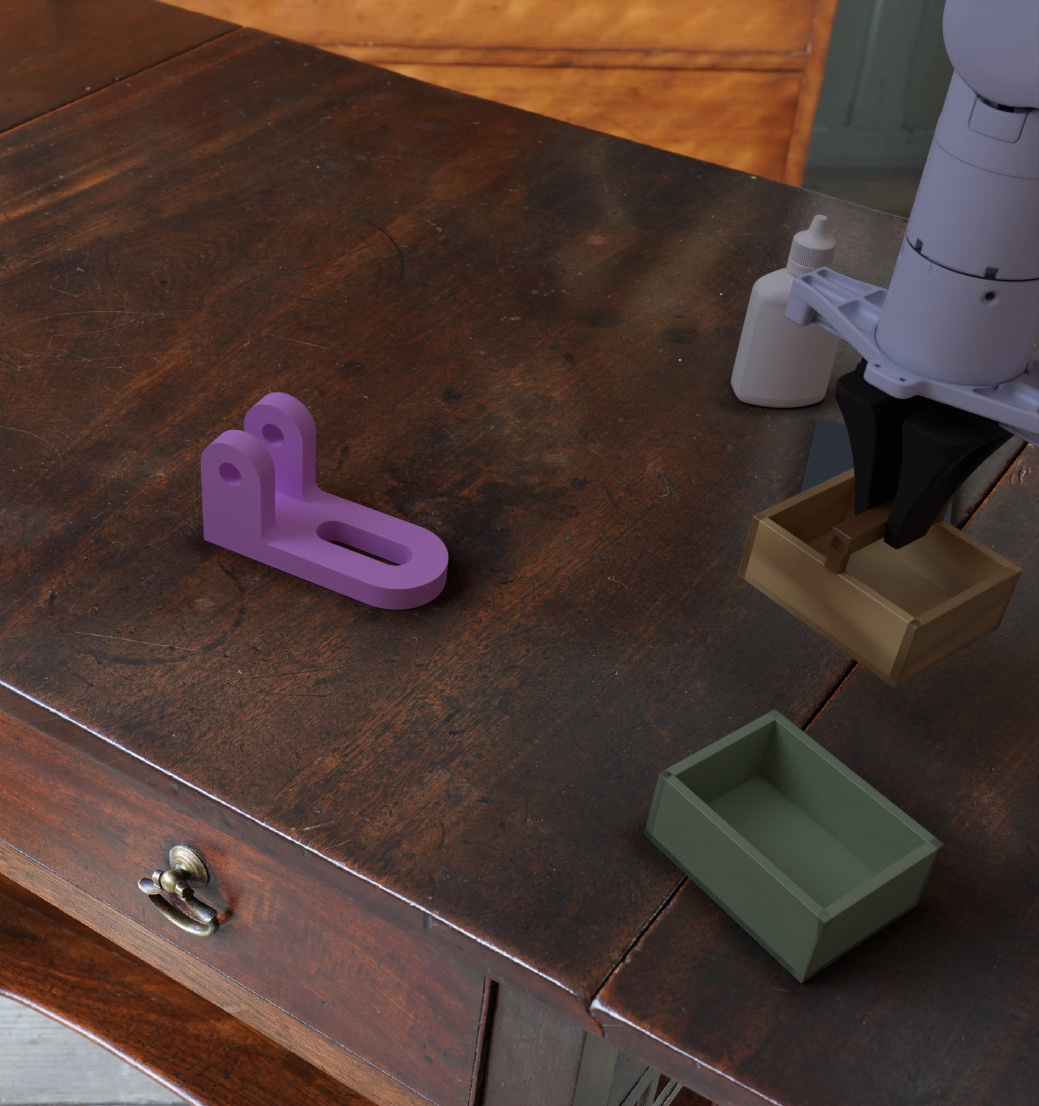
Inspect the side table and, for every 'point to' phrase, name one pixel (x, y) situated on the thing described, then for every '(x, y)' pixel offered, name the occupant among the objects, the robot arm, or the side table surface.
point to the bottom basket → (790, 843)
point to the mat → (832, 456)
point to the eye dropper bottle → (786, 333)
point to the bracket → (309, 514)
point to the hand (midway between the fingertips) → (889, 528)
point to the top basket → (876, 580)
